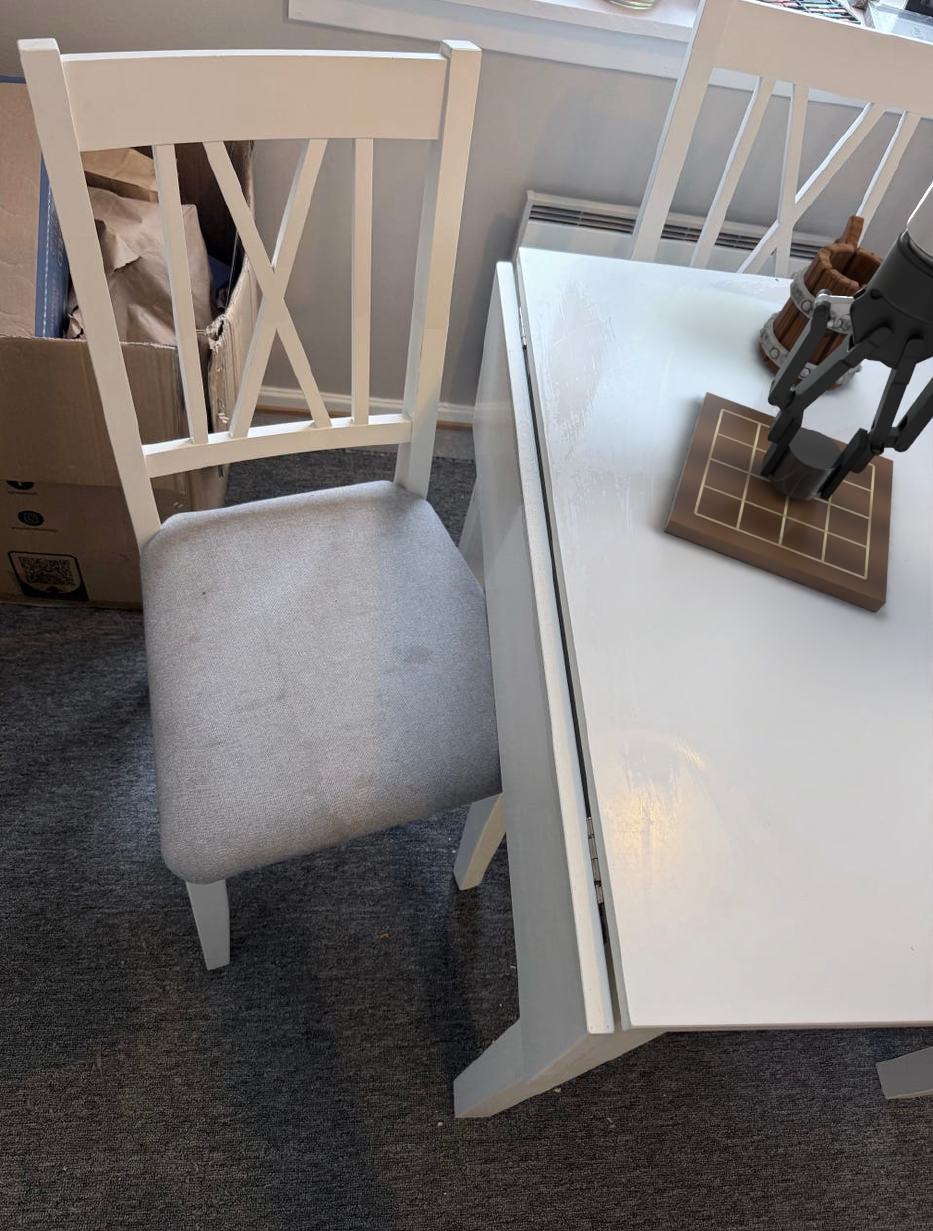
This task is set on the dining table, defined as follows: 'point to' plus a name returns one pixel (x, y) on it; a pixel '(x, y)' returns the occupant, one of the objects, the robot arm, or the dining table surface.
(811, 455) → the dark grey puck
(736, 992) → the dining table surface
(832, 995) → the dining table surface
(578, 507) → the dining table surface
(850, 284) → the mug
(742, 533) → the board
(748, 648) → the dining table surface
